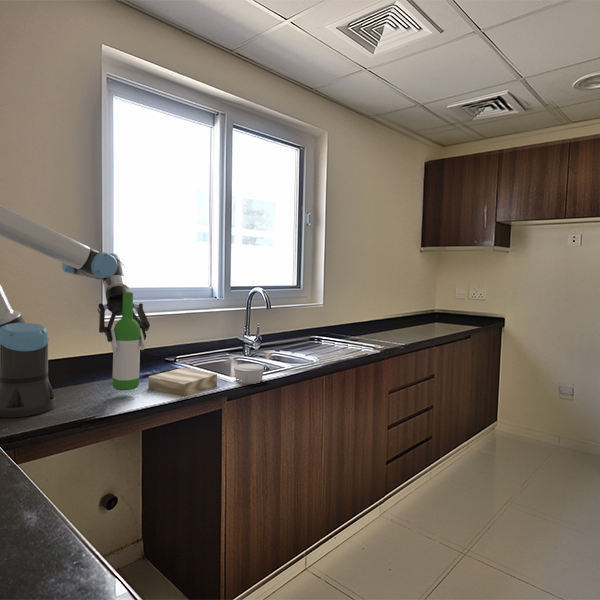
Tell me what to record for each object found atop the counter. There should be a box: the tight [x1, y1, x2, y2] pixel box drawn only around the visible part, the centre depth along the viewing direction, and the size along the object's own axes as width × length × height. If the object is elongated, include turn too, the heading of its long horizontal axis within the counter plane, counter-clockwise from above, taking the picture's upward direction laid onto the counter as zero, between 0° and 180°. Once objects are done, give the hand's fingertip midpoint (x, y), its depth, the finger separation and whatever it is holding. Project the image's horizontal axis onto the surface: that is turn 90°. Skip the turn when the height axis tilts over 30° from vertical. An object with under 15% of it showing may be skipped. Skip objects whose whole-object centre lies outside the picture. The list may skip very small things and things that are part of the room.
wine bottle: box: [112, 291, 141, 391], centre depth 135 cm, size 8×8×30 cm
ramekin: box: [233, 363, 265, 385], centre depth 160 cm, size 11×11×5 cm
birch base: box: [148, 367, 218, 397], centre depth 148 cm, size 16×16×4 cm
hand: (129, 348), depth 133 cm, fingers closed on wine bottle, 8 cm apart
